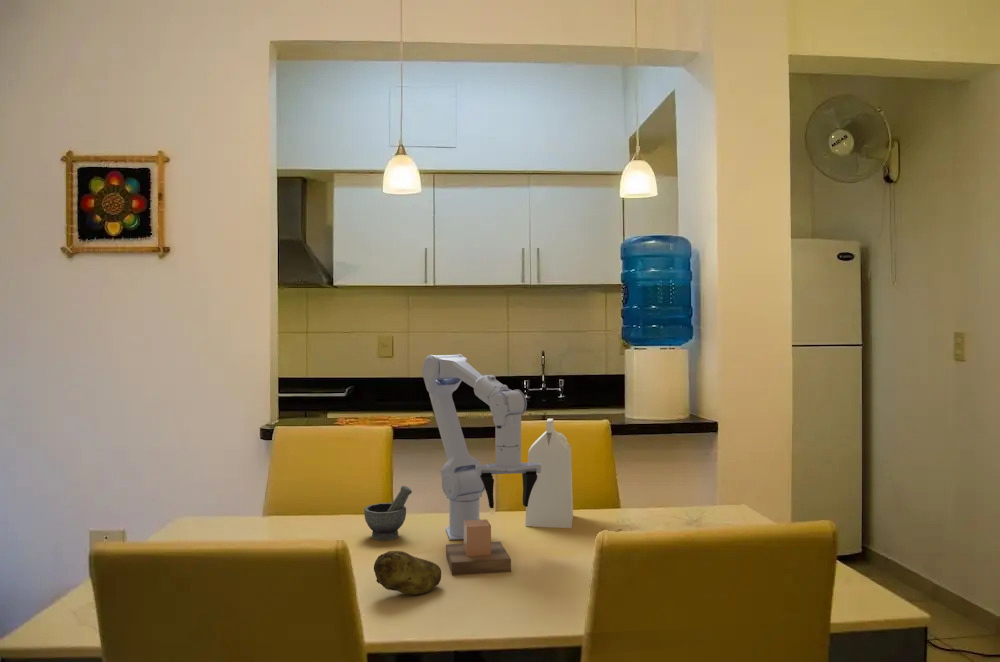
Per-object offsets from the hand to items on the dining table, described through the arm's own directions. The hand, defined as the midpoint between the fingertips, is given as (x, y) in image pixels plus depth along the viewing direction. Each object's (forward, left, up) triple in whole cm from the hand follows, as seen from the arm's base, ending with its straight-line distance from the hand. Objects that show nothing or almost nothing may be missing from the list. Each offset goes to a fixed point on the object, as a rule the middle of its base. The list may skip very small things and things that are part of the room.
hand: (508, 506), depth 155 cm
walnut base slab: (+7, -8, -10) cm, 15 cm away
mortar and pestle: (-16, -26, -10) cm, 32 cm away
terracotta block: (+7, -8, -7) cm, 13 cm away
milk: (-23, +15, -10) cm, 29 cm away
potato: (+21, -23, -10) cm, 33 cm away
